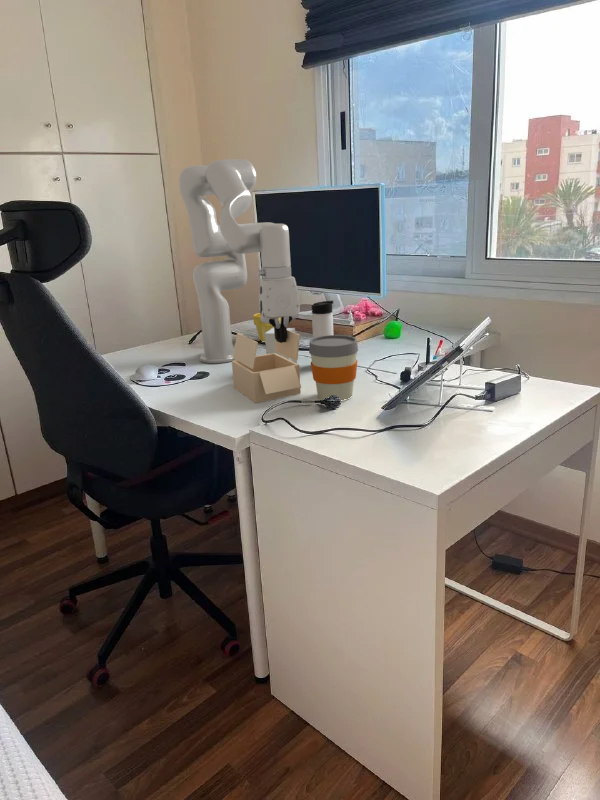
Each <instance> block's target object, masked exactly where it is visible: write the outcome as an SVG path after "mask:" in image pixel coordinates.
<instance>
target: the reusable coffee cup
mask: <svg viewBox="0 0 600 800" xmlns="http://www.w3.org/2000/svg"><path fill="white" fill-rule="evenodd" d="M358 351H359V346H358V339H357V337H354V336H352V335H346V334H345V335H344V334H333V335H327V336H321V337H316V338H313V337H312V339H309V346H308V353H309V355H310V357H311V361H310V368H311V373H312V379H313V381H314V382H315V386H316V392H317V399H318V400H320V401H323V399H325V398H328V397H329V396H331V395H337V396H339V397H340V399H341V400H344V399H348V398H350V397H351V396H352V397H353V393H354V382H355V380H356V378H357V370H358V360H357V354H358ZM350 399H351V398H350ZM348 400H349V399H348Z"/></svg>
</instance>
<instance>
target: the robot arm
mask: <svg viewBox="0 0 600 800" xmlns="http://www.w3.org/2000/svg"><path fill="white" fill-rule="evenodd" d="M178 180H179V181H178V185H179V192H180V195H181V198H182V201H183V204H184V206H185V209H186V211H187V214H188V215H187V216H188V219H189V220H188V221H189V229H190V235H191V240H192V241H191V242H192V246H193V250H194V253H195V255H196V256H198V257H200V258H215V257H225V256H226V259H224V260H223V259H222V260H212V261H206V262H205V261H204V262H202V263H199V264H198V265H196V266H195V267H194V268H193V272H192V278H193V279H192V280H193V285H194V288H195V292H196V294H197V300H198V301H197V302H198V307H199V315H200V323H201V334H202V342H203V343H202V344H203V354H201V355H200V356H199V358H200V359H199V360H200V362H202V363H205V364H223V363H229V362H232V361H233V360H236V359H234V358H233V355H234V346H233V335H232V324H231V314H230V305H229V302H228V301H227V299H226V298H225V297H224V295H222V293H221V292H224V291H232V290H237V289H241V288H244V287H245V286H246V284H247V281H248V269H247V262H246V261H247V260H246V254H254V253H260V256H261V257H260V259H261V269H260V270H257V272H256V273H257V276H259V277H260V276H261V278H262V279H260V284H259V293H258V294H259V295H258V301H259V302H258V307H259V313H260V314H261V322H264V323H270V324H271V325H272V326H273V327H274V333H275V339H276V341H277V342H280V343H283V342H286V338H287V328H289V325H290V323H291V322H292V320H295V319H298V318H299V316H300V315H299V313H300V312H301V311H300V310H301V309H300V308H301V306H300V297H299V291H298V285H297V281H296V278H295V277H294V276H292V266H291V265H292V263H291V251H290V250H291V249H290V248H291V247H290V246H291V245H290V231H289V227H288V225H287V224H285V223H274V222H270V221H269V222H266V221H265V222H252V223H251V222H250V223H241V224H240V223H238V222H237V221H236V218H238V217H239V216H241V215H243V214H244V213H245V212H247V210H249V209H250V206H251V204H252V200H253V198H252V197H253V196H252V194H251V192H250V190H252V189H253V188H254V187H255V186H256V183H257V172H256V169H255V167H254V165H253V164H252V163H251V161H249V160H247V159H244V158H242V159H237V158H236V159H216V160H214V161H211V163H209V164H201V165H200V164H199V165H191V166H187V167H185V168H184V169H182V171H181V172H180V174H179V179H178ZM205 196H215V197H216V198H217V200H218V202H219V203H220V205H221V206H222V208H221V209H220V213H219V223H218V220H217V212H216V211H217V210H216V208H215V206H214V205H213V204H212V202H211V201H210V200H209V198H207V197H205ZM280 317H281V318H280ZM279 318H280V322H279Z"/></svg>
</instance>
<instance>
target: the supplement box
mask: <svg viewBox="0 0 600 800" xmlns="http://www.w3.org/2000/svg"><path fill="white" fill-rule="evenodd" d="M287 330H289V331H292V332H294V333H296V328H295V327H287ZM264 334H265V354H273V353H276V354H278V355H280V356H282V357H284V358H286V359H288V360H290V361H292V362H294V363H296V364H298V360H297V361H295V360H293V359H291V358H289V357H287V356H285V355H282V354H280V353H278V352H276V351H275V341H276V339H275V333H274V328H272V329H271V330H269V331H267V332H266V333H264Z"/></svg>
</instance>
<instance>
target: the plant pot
mask: <svg viewBox="0 0 600 800" xmlns="http://www.w3.org/2000/svg"><path fill="white" fill-rule="evenodd" d="M252 316H253V317H252V318H253V319H252V320H253V325H254V326H255V328H256V331H257V335H258V340H259V341H260V340H261V341H265V334H264V333H266V332H267V331H269V330H271V329H272V328H274V327H273V326H272V325H271V324H270V323H264V322H261V314H260V312H259V313H255V314H253V315H252ZM280 318H281V317H280ZM280 318H279V322H280Z"/></svg>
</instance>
